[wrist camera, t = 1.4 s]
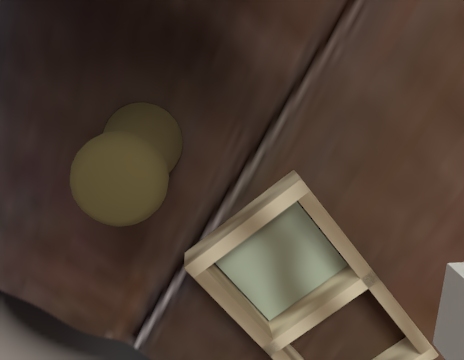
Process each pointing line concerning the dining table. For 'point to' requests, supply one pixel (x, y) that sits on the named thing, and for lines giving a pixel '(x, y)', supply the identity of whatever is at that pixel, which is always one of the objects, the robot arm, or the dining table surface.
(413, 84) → the dining table surface
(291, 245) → the condiment rack
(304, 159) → the dining table surface
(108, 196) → the olive condiment shaker
